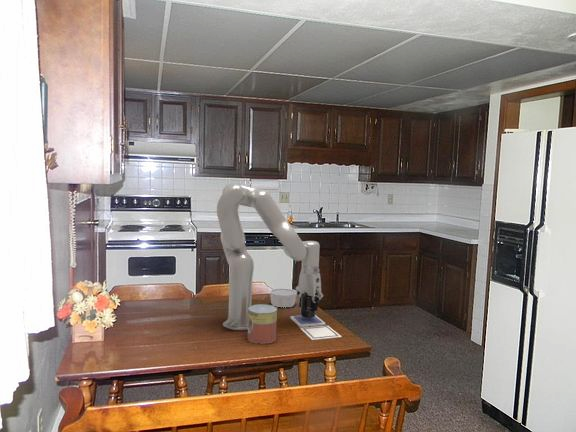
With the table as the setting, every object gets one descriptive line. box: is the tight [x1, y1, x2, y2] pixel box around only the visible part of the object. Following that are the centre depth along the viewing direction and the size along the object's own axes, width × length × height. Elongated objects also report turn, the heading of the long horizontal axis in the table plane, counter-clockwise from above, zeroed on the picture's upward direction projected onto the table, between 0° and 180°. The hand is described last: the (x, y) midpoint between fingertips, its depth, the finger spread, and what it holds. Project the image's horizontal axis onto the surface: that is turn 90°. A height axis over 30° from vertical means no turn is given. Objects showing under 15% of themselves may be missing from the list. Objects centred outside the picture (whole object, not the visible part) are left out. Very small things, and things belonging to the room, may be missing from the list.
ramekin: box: [269, 287, 298, 309], centre depth 214 cm, size 13×13×7 cm
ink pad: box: [289, 315, 327, 328], centre depth 191 cm, size 12×12×1 cm
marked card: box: [299, 325, 342, 341], centre depth 178 cm, size 13×13×1 cm
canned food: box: [246, 303, 278, 345], centre depth 170 cm, size 11×11×12 cm
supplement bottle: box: [299, 292, 317, 318], centre depth 191 cm, size 7×7×12 cm
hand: (308, 308), depth 191 cm, fingers closed on supplement bottle, 6 cm apart
